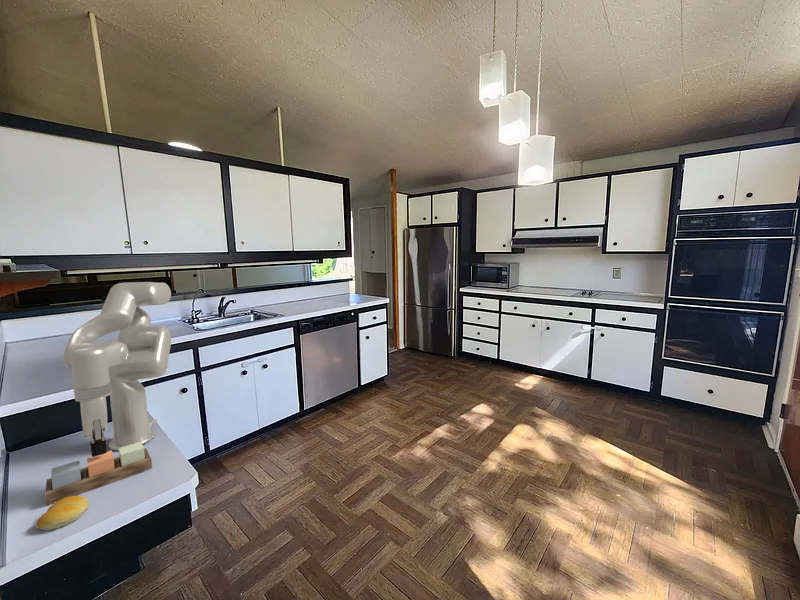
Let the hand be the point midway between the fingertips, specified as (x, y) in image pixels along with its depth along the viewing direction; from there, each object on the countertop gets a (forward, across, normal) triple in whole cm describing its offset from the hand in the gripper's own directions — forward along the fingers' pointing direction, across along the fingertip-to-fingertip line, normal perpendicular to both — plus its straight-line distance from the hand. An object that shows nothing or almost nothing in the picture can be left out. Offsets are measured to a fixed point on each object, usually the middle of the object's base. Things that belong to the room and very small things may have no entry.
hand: (99, 453), depth 95 cm
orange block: (+5, 0, 0) cm, 5 cm away
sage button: (+5, 0, +7) cm, 9 cm away
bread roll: (+8, +13, -8) cm, 17 cm away
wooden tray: (+8, 0, 0) cm, 8 cm away
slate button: (+5, 0, -7) cm, 9 cm away
